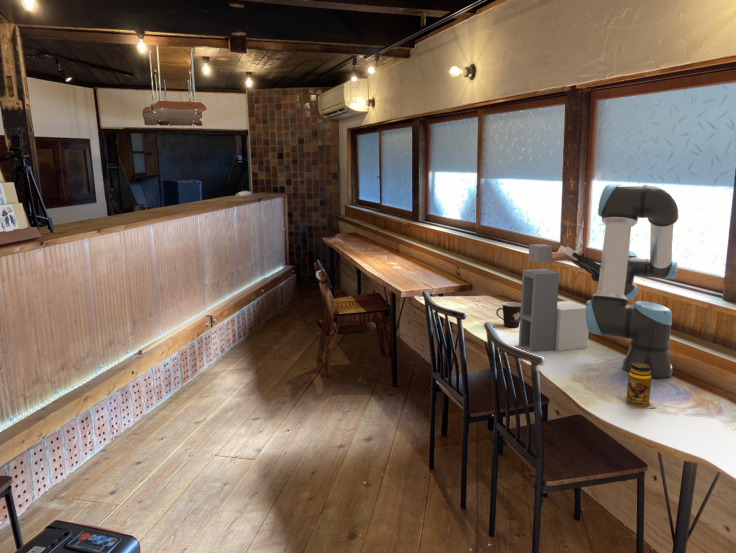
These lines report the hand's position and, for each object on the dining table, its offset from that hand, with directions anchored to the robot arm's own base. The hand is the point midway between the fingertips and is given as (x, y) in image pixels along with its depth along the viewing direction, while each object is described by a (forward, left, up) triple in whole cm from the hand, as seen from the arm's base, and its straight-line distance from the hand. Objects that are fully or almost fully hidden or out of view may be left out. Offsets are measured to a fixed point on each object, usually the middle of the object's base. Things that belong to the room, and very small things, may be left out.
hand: (562, 249), depth 208 cm
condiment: (-54, +10, -39) cm, 67 cm away
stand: (0, +9, -38) cm, 39 cm away
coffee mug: (+30, +4, -38) cm, 49 cm away
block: (0, -3, -38) cm, 38 cm away
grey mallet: (0, +3, -4) cm, 5 cm away
